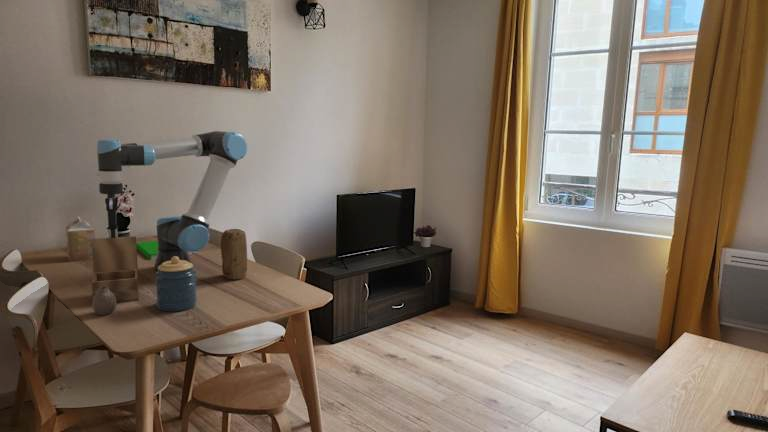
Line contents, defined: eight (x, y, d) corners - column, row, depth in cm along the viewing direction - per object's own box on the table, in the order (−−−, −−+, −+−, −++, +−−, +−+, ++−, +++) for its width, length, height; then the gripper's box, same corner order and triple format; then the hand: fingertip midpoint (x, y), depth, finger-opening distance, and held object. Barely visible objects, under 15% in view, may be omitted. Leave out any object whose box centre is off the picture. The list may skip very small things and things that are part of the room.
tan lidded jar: (96, 259, 231) (93, 218, 228) (69, 262, 226) (66, 220, 222) (94, 254, 240) (91, 215, 237) (68, 257, 234) (64, 216, 231)
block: (249, 278, 209) (248, 230, 206) (233, 281, 204) (232, 233, 200) (235, 272, 216) (234, 227, 213) (219, 276, 211) (217, 229, 207)
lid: (137, 268, 188) (137, 268, 190) (135, 236, 187) (135, 236, 189) (93, 272, 182) (93, 272, 183) (91, 239, 181) (91, 238, 182)
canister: (156, 314, 166) (153, 262, 163) (156, 301, 178) (154, 253, 175) (198, 309, 171) (196, 259, 168) (196, 298, 183) (194, 250, 180)
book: (181, 243, 269) (180, 238, 268) (198, 254, 247) (198, 248, 247) (135, 248, 255) (134, 243, 255) (149, 260, 233) (149, 254, 233)
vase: (100, 318, 161) (98, 292, 160) (88, 314, 165) (86, 288, 163) (121, 312, 167) (119, 287, 166) (109, 308, 171) (107, 283, 169)
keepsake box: (138, 290, 190) (137, 269, 188) (138, 300, 179) (137, 278, 178) (95, 294, 184) (94, 273, 182) (93, 305, 173) (91, 282, 172)
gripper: (100, 180, 187) (103, 242, 191) (97, 184, 175) (100, 250, 179) (123, 180, 190) (125, 241, 194) (121, 184, 178) (124, 249, 182)
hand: (113, 245), depth 186 cm, fingers closed
